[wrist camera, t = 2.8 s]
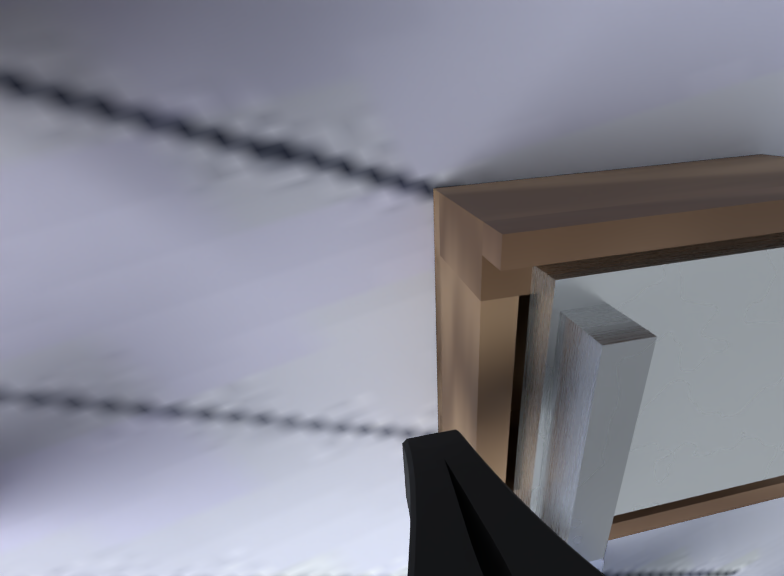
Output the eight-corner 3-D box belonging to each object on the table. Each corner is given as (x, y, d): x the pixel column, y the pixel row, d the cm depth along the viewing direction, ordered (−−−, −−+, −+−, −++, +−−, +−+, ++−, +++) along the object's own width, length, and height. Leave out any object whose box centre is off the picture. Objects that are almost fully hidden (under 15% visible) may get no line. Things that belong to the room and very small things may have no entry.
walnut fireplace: (687, 400, 19) (804, 491, 15) (438, 450, 17) (485, 570, 13) (761, 154, 15) (963, 176, 10) (433, 188, 13) (502, 234, 8)
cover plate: (755, 452, 15) (835, 514, 13) (511, 507, 14) (553, 588, 11) (852, 220, 11) (987, 249, 9) (532, 264, 10) (599, 311, 8)
